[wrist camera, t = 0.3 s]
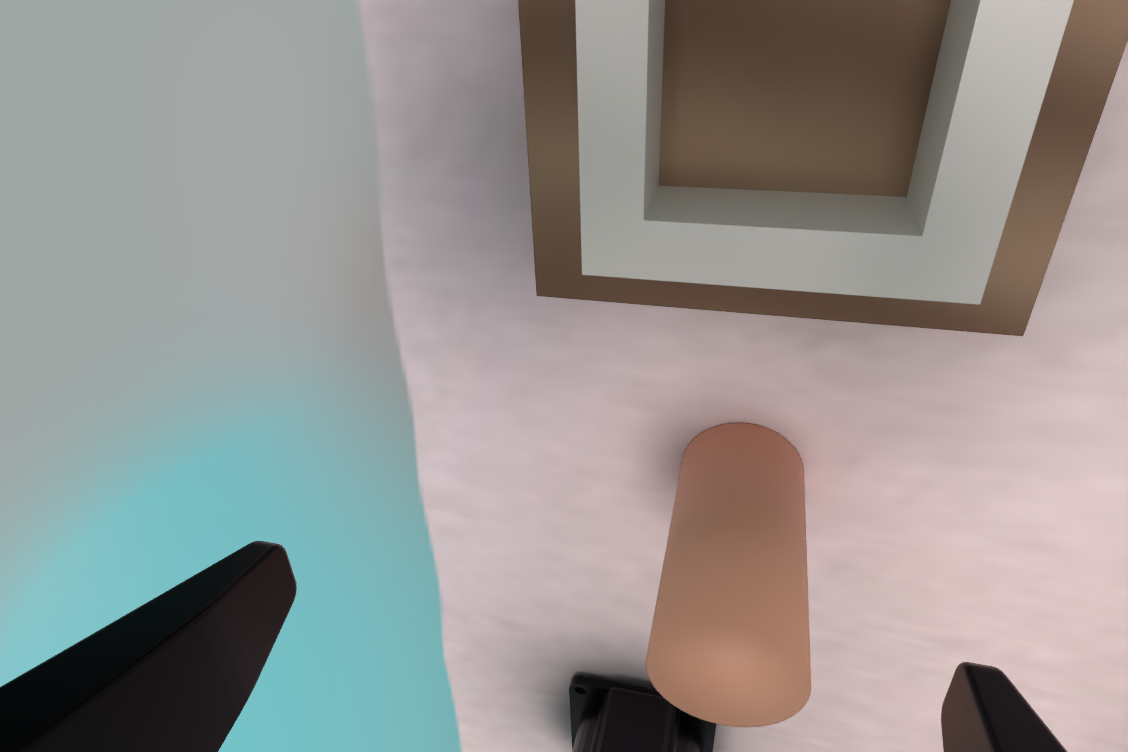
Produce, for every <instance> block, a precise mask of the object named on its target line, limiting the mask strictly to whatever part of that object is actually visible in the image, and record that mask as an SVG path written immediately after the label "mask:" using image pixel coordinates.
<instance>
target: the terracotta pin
mask: <svg viewBox="0 0 1128 752" xmlns="http://www.w3.org/2000/svg"><path fill="white" fill-rule="evenodd" d="M646 670H647V673H648V676H649V679H650V681H651V683H652V684H653V686H654V687H655V689H656V690H657V691H658V692H659V693H660V694H661V695H662V696H663V697H664V698H665V699H666V700H667V701H669V702H670V703H671V704H673V705H674V706H675V707H677V708H679V709H680V710H682V711H684V712H686V713H688V714H690V715H692V716H695V717H697V718H699V719H702V720H705V721H708V722H712V723H716V724H721V725H727V726H735V727H760V726H766V725H771V724H775V723H779V722H781V721H784V720H786V719H788V718H790V717H792V716H794V715H795V714H796V713H798V712H799V711H800V710H801V709H802V708H803V707H804V706H805V704H806V703H807V701H808V699H809V696H810V692H811V668H810V638H809V608H808V579H807V549H806V519H805V490H804V468H803V463H802V460H801V458H800V455H799V453H798V452H797V450H796V449H795V448H794V446H793V445H792V444H791V443H790V442H789V441H788V440H787V439H785V438H784V437H783V436H781V435H780V434H778V433H776V432H774V431H773V430H770V429H768V428H765V427H762V426H759V425H755V424H749V423H728V424H722V425H718V426H715V427H712V428H709V429H707V430H705V431H703V432H702V433H700V434H699V435H698V436H696V437H695V438H694V439H693V440H692V441H691V442H690V444H689V445H688V446H687V448H686V450H685V452H684V455H683V458H682V464H681V469H680V475H679V480H678V486H677V491H676V497H675V502H674V508H673V513H672V519H671V524H670V530H669V535H668V541H667V547H666V552H665V558H664V563H663V569H662V574H661V580H660V585H659V591H658V596H657V602H656V607H655V613H654V619H653V624H652V630H651V635H650V641H649V646H648V652H647V658H646Z"/></svg>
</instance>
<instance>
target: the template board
mask: <svg viewBox="0 0 1128 752" xmlns="http://www.w3.org/2000/svg"><path fill="white" fill-rule="evenodd" d="M518 3H519V19H520V35H521V51H522V67H523V83H524V99H525V115H526V131H527V147H528V163H529V179H530V195H531V211H532V227H533V243H534V259H535V275H536V291H537V296H545V297H557V298H569V299H581V300H593V301H605V302H617V303H629V304H642V305H654V306H666V307H678V308H690V309H702V310H714V311H726V312H738V313H750V314H762V315H774V316H786V317H798V318H811V319H823V320H835V321H847V322H859V323H871V324H883V325H895V326H907V327H919V328H931V329H943V330H955V331H967V332H980V333H992V334H1004V335H1016V336H1023V335H1024V332H1025V329H1026V326H1027V324H1028V321H1029V318H1030V315H1031V312H1032V309H1033V307H1034V304H1035V301H1036V298H1037V295H1038V292H1039V290H1040V287H1041V284H1042V281H1043V278H1044V275H1045V273H1046V270H1047V267H1048V264H1049V261H1050V258H1051V256H1052V253H1053V250H1054V247H1055V244H1056V241H1057V239H1058V236H1059V233H1060V230H1061V227H1062V224H1063V222H1064V219H1065V216H1066V213H1067V210H1068V207H1069V205H1070V202H1071V199H1072V196H1073V193H1074V191H1075V188H1076V185H1077V182H1078V179H1079V176H1080V174H1081V171H1082V168H1083V165H1084V162H1085V159H1086V157H1087V154H1088V151H1089V148H1090V145H1091V142H1092V140H1093V137H1094V134H1095V131H1096V128H1097V125H1098V123H1099V120H1100V117H1101V114H1102V111H1103V108H1104V106H1105V103H1106V100H1107V97H1108V94H1109V91H1110V89H1111V86H1112V83H1113V80H1114V77H1115V74H1116V72H1117V69H1118V66H1119V63H1120V60H1121V58H1122V55H1123V52H1124V49H1125V46H1126V43H1127V41H1128V0H518Z"/></svg>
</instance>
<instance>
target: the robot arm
mask: <svg viewBox="0 0 1128 752" xmlns="http://www.w3.org/2000/svg"><path fill="white" fill-rule="evenodd" d="M295 595H296V580H295V577H294V574H293V571H292V568H291V565H290V562H289V559H288V555H287V552H286V550H285V548H284V547H283V546H282V545H280V544H275V543H269V542H263V541H255V542H252V543H250V544H248V545H246V546H245V547H243V548H241V549H239V550H238V551H236V552H234V553H232V554H231V555H229V556H227V557H225V558H224V559H222V560H220V561H218V562H217V563H215V564H213V565H212V566H210V567H208V568H206V569H205V570H203V571H201V572H199V573H198V574H196V575H194V576H192V577H191V578H189V579H187V580H186V581H184V582H182V583H180V584H179V585H177V586H175V587H174V588H172V589H170V590H169V591H166V592H165V593H163V594H161V595H160V596H158V597H156V598H154V599H153V600H151V601H149V602H147V603H146V604H144V605H142V606H140V607H139V608H137V609H135V610H133V611H132V612H130V613H128V614H126V615H125V616H123V617H121V618H120V619H118V620H116V621H114V622H113V623H111V624H109V625H107V626H106V627H104V628H103V629H101V630H99V631H97V632H95V633H94V634H92V635H90V636H88V637H87V638H85V639H83V640H81V641H80V642H78V643H76V644H74V645H73V646H71V647H69V648H68V649H66V650H64V651H62V652H61V653H59V654H57V655H55V656H54V657H52V658H50V659H48V660H47V661H45V662H43V663H42V664H40V665H38V666H36V667H34V668H33V669H31V670H29V671H28V672H26V673H24V674H22V675H21V676H19V677H17V678H15V679H14V680H12V681H10V682H8V683H7V684H5V685H3V686H1V687H0V752H218V751H219V749H220V747H221V745H222V744H223V742H224V740H225V739H226V737H227V735H228V733H229V732H230V730H231V728H232V727H233V725H234V723H235V721H236V720H237V718H238V716H239V715H240V713H241V711H242V709H243V707H244V705H245V703H246V702H247V700H248V698H249V696H250V694H251V692H252V690H253V688H254V686H255V684H256V682H257V680H258V678H259V676H260V673H261V671H262V669H263V667H264V665H265V663H266V661H267V658H268V656H269V654H270V652H271V650H272V647H273V645H274V643H275V641H276V639H277V636H278V634H279V632H280V630H281V628H282V625H283V623H284V621H285V619H286V617H287V615H288V613H289V610H290V608H291V606H292V604H293V601H294V598H295ZM569 692H570V711H571V730H572V749H573V751H572V752H712V751H713V743H714V736H715V728H716V723H712V722H708V721H705V720H702V719H699V718H697V717H695V716H692V715H690V714H688V713H686V712H684V711H682V710H680V709H679V708H677V707H675V706H674V705H673V704H671V703H670V702H669V701H667V700H666V699H665V698H664V697H663V696H662V695H661V694H660V693H659V692H658V691H654V690H649V689H644V688H639V687H634V686H629V685H624V684H619V683H614V682H609V681H604V680H599V679H594V678H589V677H584V676H574V677H573V678H572V680H571V684H570V688H569ZM941 725H942V736H943V748H944V752H1067V751H1066V750H1065V748H1064V747H1063V746H1062V745H1061V743H1060V742H1059V741H1058V740H1057V738H1056V737H1055V736H1054V735H1053V733H1052V732H1051V731H1050V730H1049V728H1048V727H1047V726H1046V725H1045V723H1044V722H1043V721H1042V720H1041V718H1040V717H1039V716H1038V715H1037V713H1036V712H1035V711H1034V710H1033V709H1032V707H1031V706H1030V705H1029V704H1028V702H1027V701H1026V700H1025V699H1024V697H1023V696H1022V695H1021V694H1020V692H1019V691H1018V690H1017V689H1016V687H1015V686H1014V685H1013V684H1012V682H1011V681H1010V680H1009V679H1008V677H1007V676H1006V675H1005V674H1004V673H1003V672H1002V671H1001V670H999V669H998V668H996V667H992V666H987V665H981V664H975V663H970V662H962V663H960V664H959V665H958V667H957V668H956V671H955V673H954V676H953V678H952V681H951V684H950V686H949V689H948V692H947V694H946V697H945V699H944V702H943V706H942V714H941Z"/></svg>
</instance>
